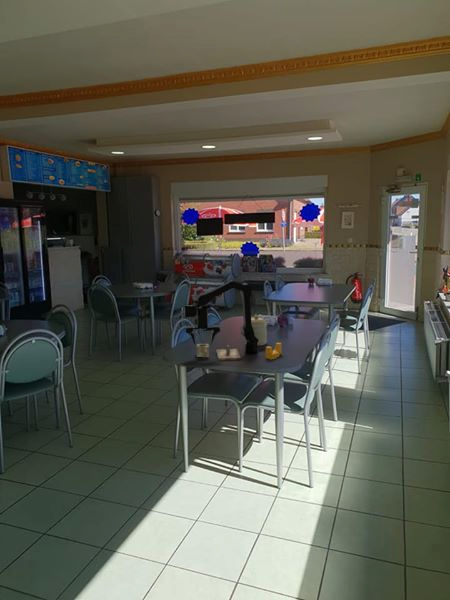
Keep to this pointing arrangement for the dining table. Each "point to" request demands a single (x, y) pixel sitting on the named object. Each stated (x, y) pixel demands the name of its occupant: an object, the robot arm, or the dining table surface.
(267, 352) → the pipe clamp
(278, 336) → the dining table surface
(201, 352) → the collar
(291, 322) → the dining table surface
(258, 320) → the jar
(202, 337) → the dining table surface
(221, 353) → the post board
